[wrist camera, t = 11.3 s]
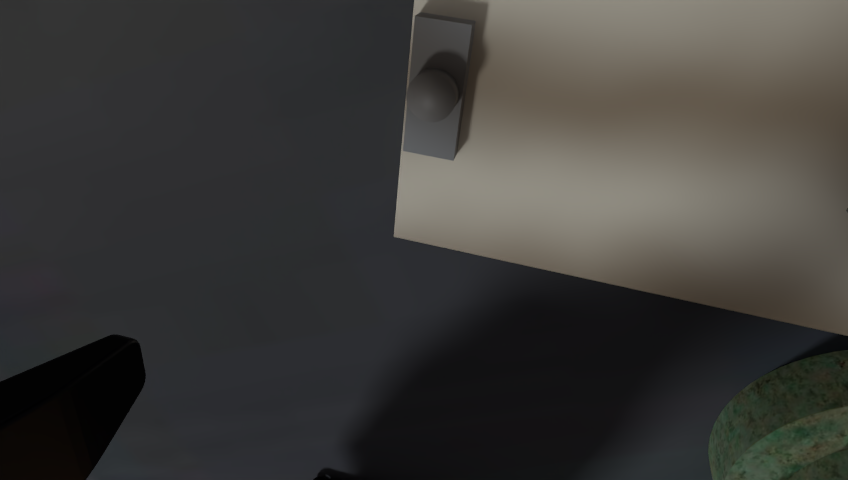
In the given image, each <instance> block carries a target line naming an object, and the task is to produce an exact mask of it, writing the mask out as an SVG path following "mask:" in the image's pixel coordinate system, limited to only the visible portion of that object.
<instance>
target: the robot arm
mask: <svg viewBox="0 0 848 480" xmlns="http://www.w3.org/2000/svg"><path fill="white" fill-rule="evenodd" d="M145 377H146V374H145V368H144V363H143V358H142V353H141V348H140V344H139V343H138V341H137V340H135V339H133V338H129V337H125V336H121V335H110V336H107V337H105V338H102V339H100V340H98V341H95V342H93V343H90V344H88V345H86V346H83V347H81V348H79V349H76V350H74V351H72V352H69V353H67V354H65V355H62V356H60V357H57V358H55V359H53V360H50V361H48V362H46V363H43V364H41V365H39V366H36V367H34V368H32V369H29V370H27V371H24V372H22V373H20V374H17V375H15V376H13V377H10V378H8V379H6V380H3V381H1V382H0V480H86V479H87V477H88V476H89V474H90V473H91V472H92V470H93V469H94V467H95V466H96V464H97V463H98V461H99V459H100V458H101V456H102V455H103V453H104V451H105V450H106V448H107V447H108V445H109V443H110V442H111V440H112V438H113V437H114V435H115V433H116V432H117V430H118V428H119V427H120V425H121V423H122V422H123V420H124V418H125V417H126V415H127V413H128V412H129V410H130V408H131V407H132V405H133V404H134V402H135V400H136V399H137V397H138V395H139V394H140V392H141V390H142V388H143V386H144V383H145ZM314 480H329V479H326V478H322V477H316V478H315V479H314Z"/></svg>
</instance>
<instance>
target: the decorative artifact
mask: <svg viewBox="0 0 848 480" xmlns="http://www.w3.org/2000/svg"><path fill="white" fill-rule="evenodd" d="M708 453H709V462H710V467H711V473H712V478H713V480H848V350H843V351H836V352H830V353H825V354H820V355H816V356H812V357H808V358H805V359H802V360H799V361H796V362H793V363H790V364H787V365H785V366H782V367H780V368H778V369H775V370H773V371H771V372H769V373H768V374H766V375H764V376H762V377H760V378H759V379H757V380H755V381H754V382H752V383H751V384H749V385H748V386H747V387H745V388H744V389H743V390H741V391H740V392H739V393H738V394H737V395H736V396H735V397H734V398H733V399H732V400H731V401H730V402H729V403H728V404H727V405H726V406H725V408H724V409H723V411H722V412H721V413H720V415H719V416H718V418H717V420H716V422H715V424H714V426H713V429H712V432H711V435H710V440H709V450H708Z"/></svg>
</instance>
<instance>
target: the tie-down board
mask: <svg viewBox="0 0 848 480" xmlns="http://www.w3.org/2000/svg"><path fill="white" fill-rule="evenodd" d="M847 208H848V0H414V11H413V22H412V33H411V45H410V56H409V68H408V79H407V91H406V102H405V114H404V125H403V136H402V148H401V159H400V171H399V182H398V194H397V205H396V216H395V228H394V237H398V238H402V239H407V240H411V241H416V242H421V243H425V244H430V245H434V246H439V247H443V248H448V249H453V250H457V251H462V252H466V253H471V254H475V255H480V256H485V257H489V258H494V259H498V260H503V261H507V262H512V263H517V264H521V265H526V266H530V267H535V268H540V269H544V270H549V271H553V272H558V273H562V274H567V275H572V276H576V277H581V278H585V279H590V280H594V281H599V282H604V283H608V284H613V285H617V286H622V287H626V288H631V289H636V290H640V291H645V292H649V293H654V294H658V295H663V296H668V297H672V298H677V299H681V300H686V301H690V302H695V303H700V304H704V305H709V306H713V307H718V308H722V309H727V310H732V311H736V312H741V313H745V314H750V315H754V316H759V317H764V318H768V319H773V320H777V321H782V322H786V323H791V324H796V325H800V326H805V327H809V328H814V329H818V330H823V331H828V332H832V333H837V334H841V335H846V336H848V213H847V211H846V210H847Z"/></svg>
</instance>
